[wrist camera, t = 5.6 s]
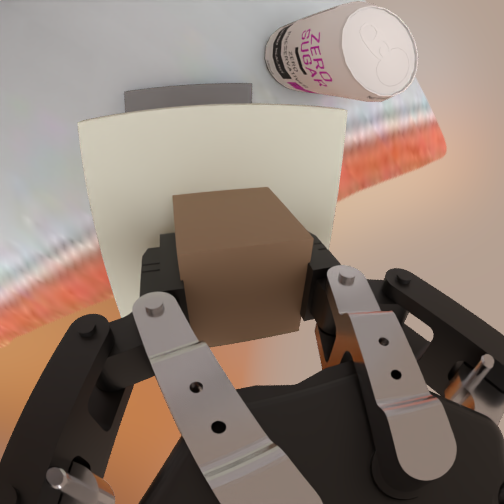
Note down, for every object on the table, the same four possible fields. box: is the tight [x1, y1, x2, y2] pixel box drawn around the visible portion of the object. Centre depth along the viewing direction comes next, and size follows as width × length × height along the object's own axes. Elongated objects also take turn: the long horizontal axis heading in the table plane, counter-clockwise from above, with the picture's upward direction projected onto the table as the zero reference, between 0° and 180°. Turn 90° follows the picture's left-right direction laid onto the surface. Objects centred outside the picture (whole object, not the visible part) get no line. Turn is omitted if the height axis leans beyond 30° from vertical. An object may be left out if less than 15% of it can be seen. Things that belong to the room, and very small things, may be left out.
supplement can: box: [265, 1, 418, 102], centre depth 21 cm, size 8×8×15 cm
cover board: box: [78, 104, 347, 347], centre depth 12 cm, size 11×11×5 cm
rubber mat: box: [124, 83, 252, 113], centre depth 30 cm, size 13×13×1 cm
